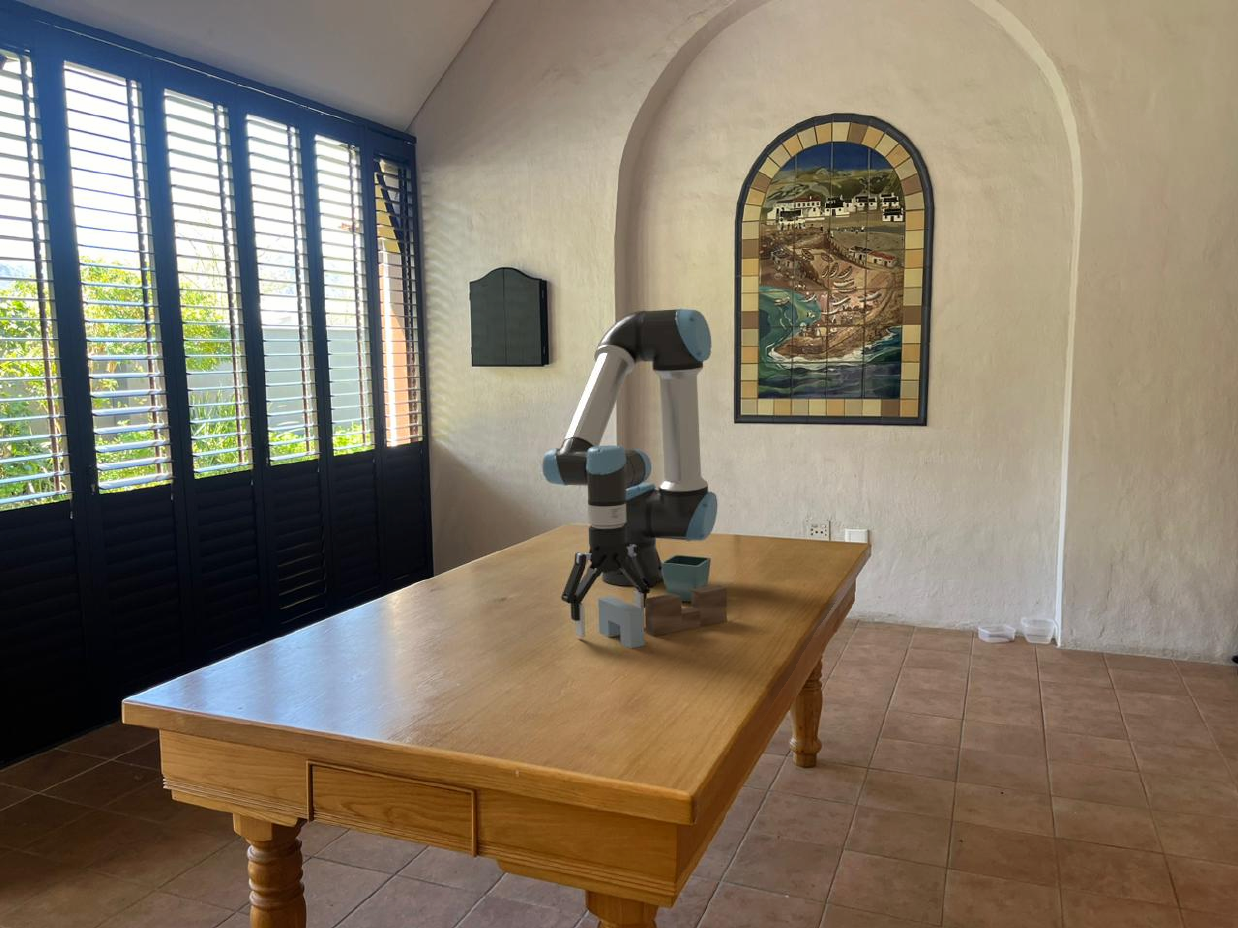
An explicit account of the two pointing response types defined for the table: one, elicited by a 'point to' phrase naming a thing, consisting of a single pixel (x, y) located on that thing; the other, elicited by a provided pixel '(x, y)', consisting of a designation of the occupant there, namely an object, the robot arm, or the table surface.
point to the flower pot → (685, 575)
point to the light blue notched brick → (621, 621)
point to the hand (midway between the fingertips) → (610, 629)
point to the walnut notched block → (685, 611)
